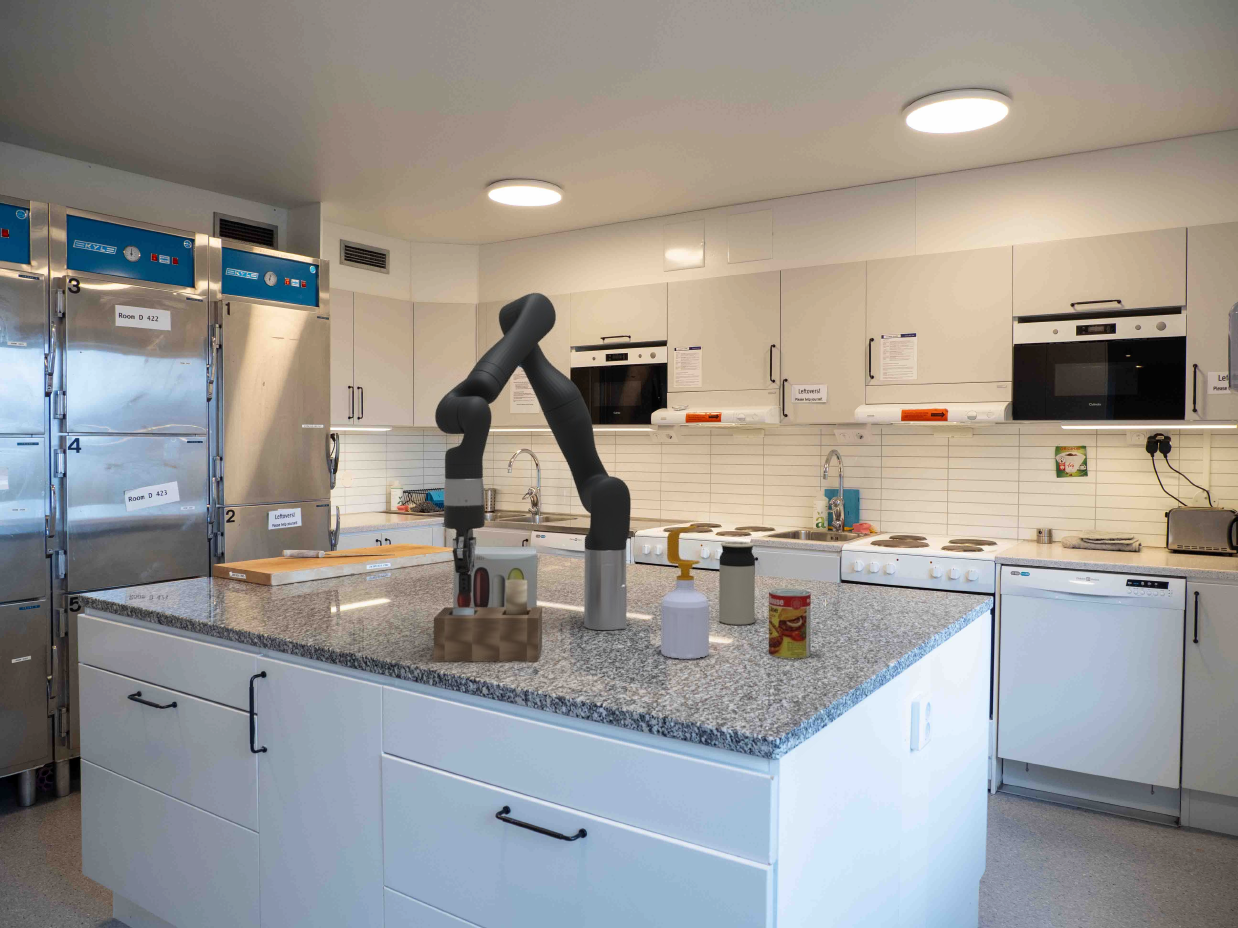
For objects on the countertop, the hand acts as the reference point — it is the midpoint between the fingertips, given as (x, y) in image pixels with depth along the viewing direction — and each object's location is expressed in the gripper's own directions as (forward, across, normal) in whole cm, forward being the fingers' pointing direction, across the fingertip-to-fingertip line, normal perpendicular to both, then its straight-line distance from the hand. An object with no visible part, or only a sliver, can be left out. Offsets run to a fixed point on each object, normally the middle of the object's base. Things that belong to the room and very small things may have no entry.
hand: (465, 594), depth 158 cm
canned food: (+12, 0, -62) cm, 63 cm away
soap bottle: (+12, 0, -42) cm, 43 cm away
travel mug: (+12, +31, -57) cm, 66 cm away
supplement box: (+12, +18, -4) cm, 22 cm away
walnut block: (+12, 0, -4) cm, 12 cm away
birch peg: (+5, 0, -10) cm, 11 cm away
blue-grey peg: (+10, 0, 0) cm, 10 cm away
